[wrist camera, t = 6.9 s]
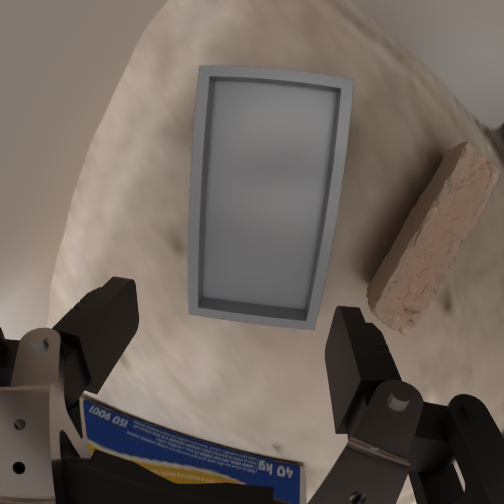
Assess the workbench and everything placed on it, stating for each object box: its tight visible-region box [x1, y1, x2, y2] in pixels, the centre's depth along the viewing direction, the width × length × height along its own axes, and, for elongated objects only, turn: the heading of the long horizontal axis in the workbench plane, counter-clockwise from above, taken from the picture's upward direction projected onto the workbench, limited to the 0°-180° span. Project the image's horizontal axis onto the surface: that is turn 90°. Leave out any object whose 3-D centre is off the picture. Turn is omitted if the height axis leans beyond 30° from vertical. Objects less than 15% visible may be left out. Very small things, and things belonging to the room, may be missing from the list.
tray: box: [188, 66, 354, 330], centre depth 28 cm, size 13×24×3 cm, turn 175°
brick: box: [366, 142, 500, 335], centre depth 24 cm, size 17×8×5 cm
